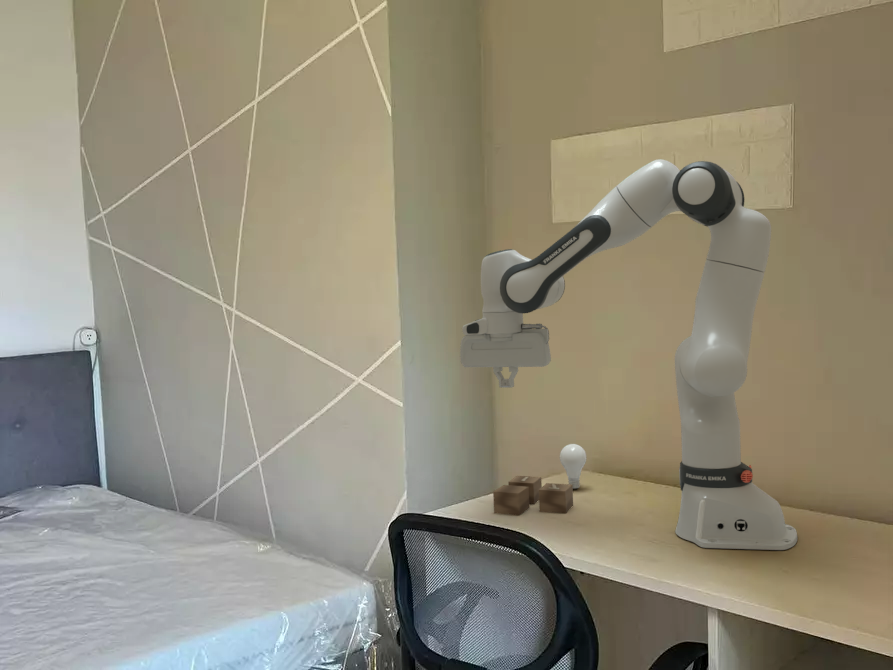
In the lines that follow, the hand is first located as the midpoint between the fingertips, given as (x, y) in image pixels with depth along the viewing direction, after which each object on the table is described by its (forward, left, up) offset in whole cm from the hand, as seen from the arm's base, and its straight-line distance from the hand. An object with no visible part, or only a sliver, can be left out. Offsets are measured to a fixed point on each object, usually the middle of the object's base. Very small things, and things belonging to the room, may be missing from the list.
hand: (506, 387), depth 195 cm
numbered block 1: (0, -9, -28) cm, 29 cm away
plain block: (0, 0, -28) cm, 28 cm away
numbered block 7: (-9, -4, -28) cm, 30 cm away
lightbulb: (-8, -21, -28) cm, 36 cm away
